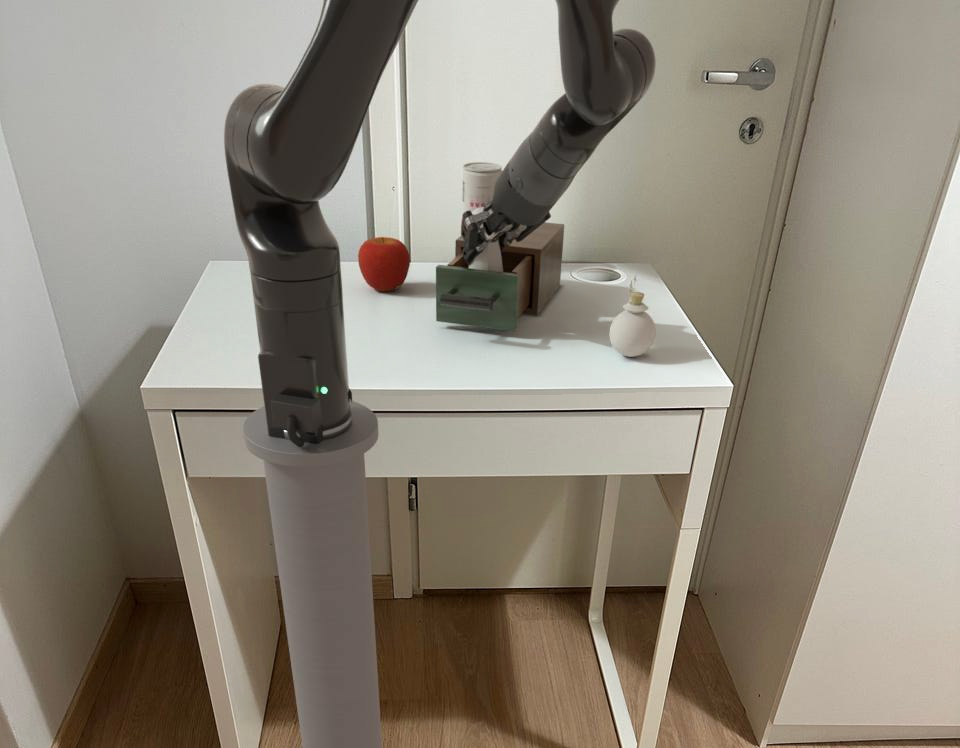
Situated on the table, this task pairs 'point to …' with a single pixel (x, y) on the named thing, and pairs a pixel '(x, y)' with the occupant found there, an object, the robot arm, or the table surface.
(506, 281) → the drawer
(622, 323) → the ornament
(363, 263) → the apple
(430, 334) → the table surface
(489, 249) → the salt shaker
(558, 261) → the cabinet
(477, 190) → the beverage can
